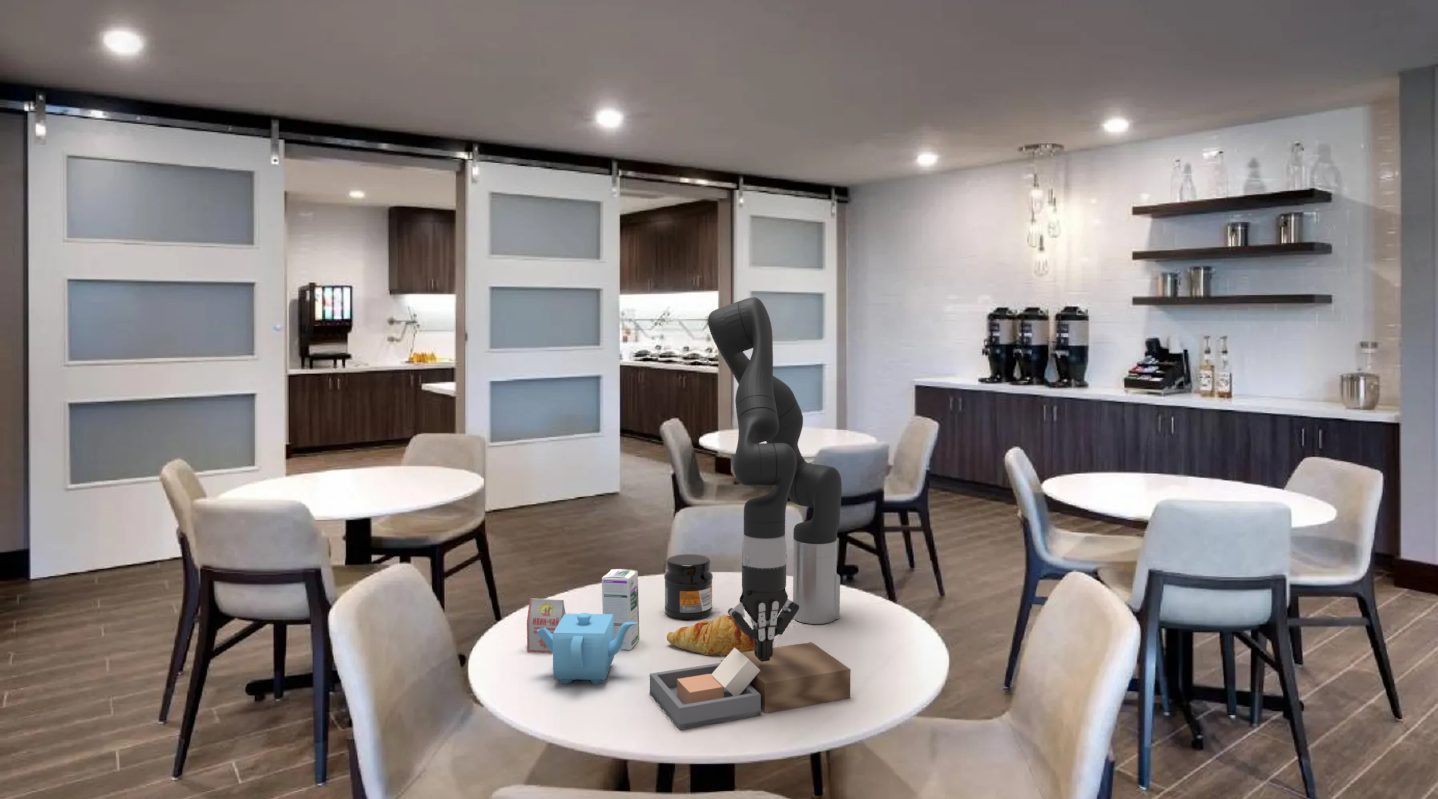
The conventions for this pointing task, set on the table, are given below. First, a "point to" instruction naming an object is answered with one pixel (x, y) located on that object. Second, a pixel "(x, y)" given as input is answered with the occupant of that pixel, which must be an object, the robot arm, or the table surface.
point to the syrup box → (622, 602)
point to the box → (705, 711)
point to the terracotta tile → (699, 689)
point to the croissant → (712, 637)
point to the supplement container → (688, 587)
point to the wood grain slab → (799, 677)
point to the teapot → (584, 646)
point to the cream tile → (735, 672)
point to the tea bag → (542, 621)
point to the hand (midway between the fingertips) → (763, 659)
